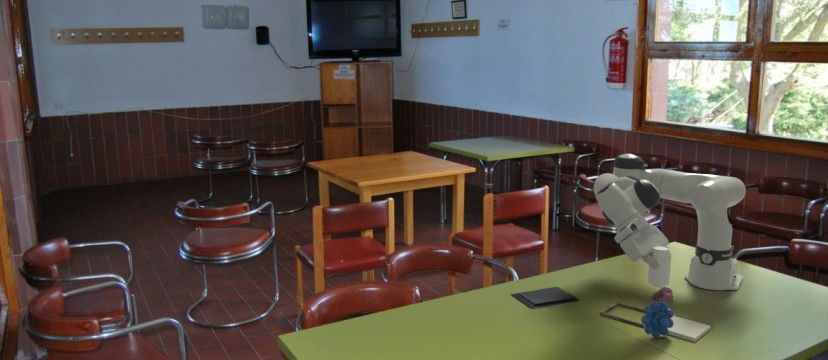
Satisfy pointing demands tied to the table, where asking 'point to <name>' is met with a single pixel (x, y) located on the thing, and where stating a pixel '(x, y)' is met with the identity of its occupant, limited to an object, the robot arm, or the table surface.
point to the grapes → (657, 319)
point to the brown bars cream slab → (679, 329)
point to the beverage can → (660, 267)
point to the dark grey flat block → (544, 297)
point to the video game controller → (664, 295)
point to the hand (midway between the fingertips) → (661, 265)
